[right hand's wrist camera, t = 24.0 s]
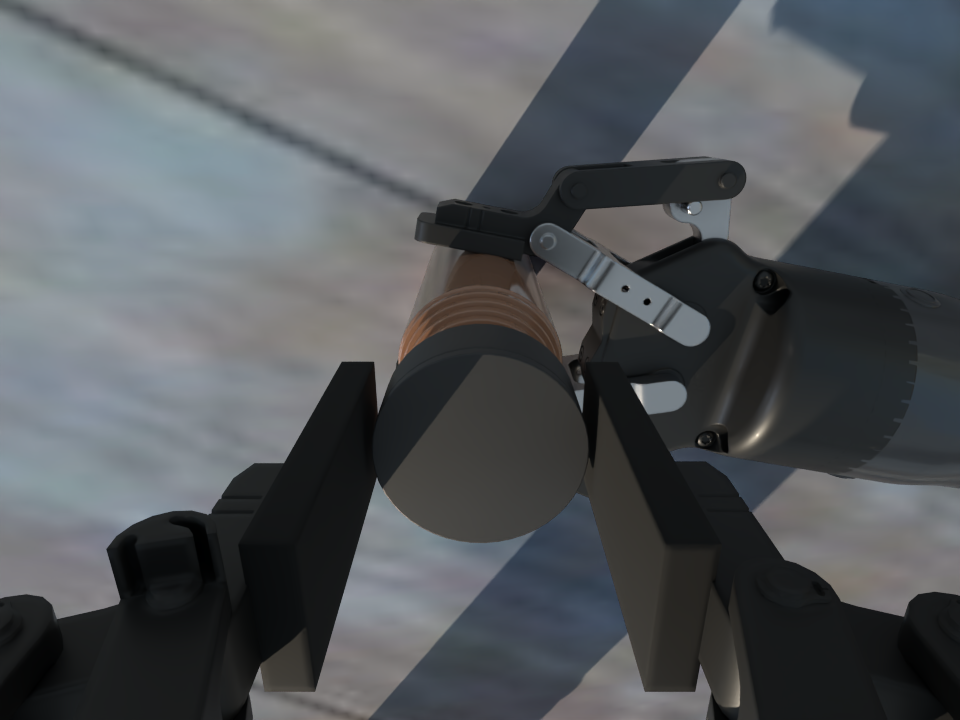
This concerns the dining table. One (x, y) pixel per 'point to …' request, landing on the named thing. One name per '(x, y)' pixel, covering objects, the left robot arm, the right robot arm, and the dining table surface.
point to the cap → (480, 435)
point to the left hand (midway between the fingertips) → (409, 298)
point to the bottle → (479, 298)
